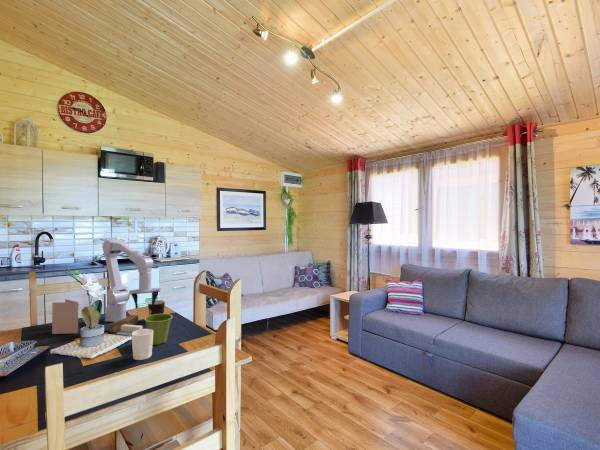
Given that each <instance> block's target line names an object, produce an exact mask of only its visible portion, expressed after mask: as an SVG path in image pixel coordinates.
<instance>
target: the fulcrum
mask: <svg viewBox="0 0 600 450" xmlns="http://www.w3.org/2000/svg"><path fill="white" fill-rule="evenodd" d="M141 329H144V328H143V325H137V324H133V325H128V324H124V325H122V326H121V330H120V331H118V332H115V335H116V334H118V335H117V336H125V335H131V336H130V337H132V333H133V332H134V331H137V330H141Z"/></svg>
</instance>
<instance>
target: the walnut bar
mask: <svg viewBox="0 0 600 450" xmlns="http://www.w3.org/2000/svg"><path fill="white" fill-rule="evenodd" d="M137 323H139V315H136V314H131V315H130V316H126V318H124V319H121V320H119V321H116V322H112V323H111V322H110V324H109V326H108V329H109V330H108V331H109V333H118V332H120V331H121V326H122V325H124V324H128V325H137Z"/></svg>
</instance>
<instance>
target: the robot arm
mask: <svg viewBox="0 0 600 450" xmlns="http://www.w3.org/2000/svg"><path fill="white" fill-rule="evenodd" d="M101 247H102V252H103V256H104V259H105V263H106V267H107V269H106V270H107V273H108V277H109V283H110V288H109V289H108V290H107V291H106V293H107V294H106V295H107V298H106V300H107V302H108V304H107V305H106V307H105V319H104V322H109V323H111V322H112V323H114V322H116V321H119V320H121V319H124V318H126V317H127V303H128V301H129V300H130V297H132V299H133V301H134V305H135V309H138V308H139V307H138V298H139V296H138V295H141V294H150V293H151V301H152V307H154V303H155V300H157V298H158V296H159V293H161V288H160V287H152V269H153V267H154V265H155V261H154V259H153V258H152V256H151V257H148V256H146V255H145V254H142V252H141V251H140V250H134V249H132V247H130V246H129V245H128V244H127V241H126V240H124V239H122V238H121V239H105V240H104V241H103V243H102V245H101ZM121 253H123V254H125V255H127V256H129V257H128V258H129V260H130V261H132V263H134V264H135V265H136V267H137V272H138V273H139V275H138V276H139V277H138V278H139V279H138V288H137V289H131V290H128V287H127V286H125V285H123V281H122V277H121V273H120V267H119V263H118V258H117V257H118V256H119V255H121Z"/></svg>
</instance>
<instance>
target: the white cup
mask: <svg viewBox="0 0 600 450" xmlns="http://www.w3.org/2000/svg"><path fill="white" fill-rule="evenodd" d="M131 345H132V346H131V347H132V358H133V360H136V361H143V360H147V359H150V358H151V357H152V355H153V330H152V329H147V328H143V329H141V330H137V331H134V332H133V333H132V336H131Z"/></svg>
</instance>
